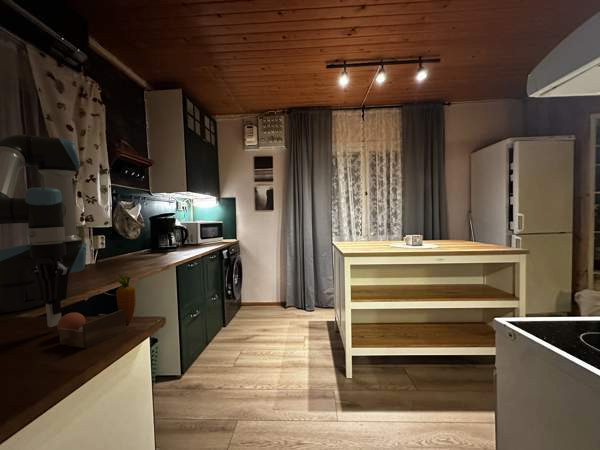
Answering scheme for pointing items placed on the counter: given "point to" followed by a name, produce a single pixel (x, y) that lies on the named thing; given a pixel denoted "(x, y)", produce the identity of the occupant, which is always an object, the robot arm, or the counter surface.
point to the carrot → (126, 298)
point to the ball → (71, 321)
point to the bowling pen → (95, 330)
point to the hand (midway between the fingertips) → (55, 324)
